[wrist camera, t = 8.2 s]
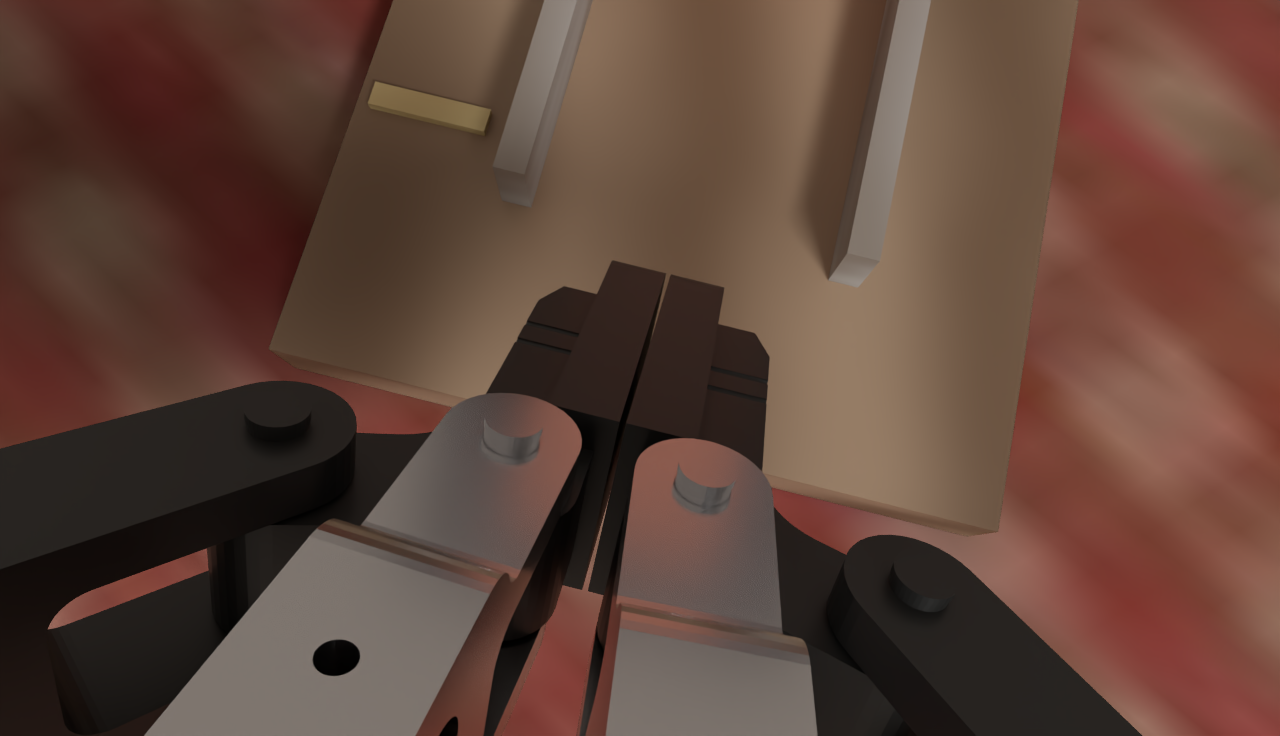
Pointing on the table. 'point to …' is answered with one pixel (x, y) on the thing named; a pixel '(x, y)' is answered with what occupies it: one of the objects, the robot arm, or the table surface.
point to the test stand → (714, 212)
